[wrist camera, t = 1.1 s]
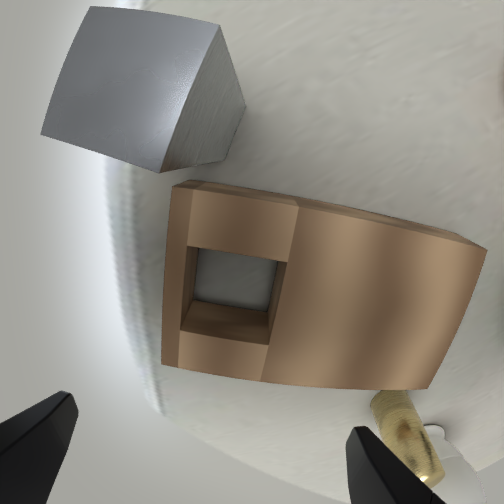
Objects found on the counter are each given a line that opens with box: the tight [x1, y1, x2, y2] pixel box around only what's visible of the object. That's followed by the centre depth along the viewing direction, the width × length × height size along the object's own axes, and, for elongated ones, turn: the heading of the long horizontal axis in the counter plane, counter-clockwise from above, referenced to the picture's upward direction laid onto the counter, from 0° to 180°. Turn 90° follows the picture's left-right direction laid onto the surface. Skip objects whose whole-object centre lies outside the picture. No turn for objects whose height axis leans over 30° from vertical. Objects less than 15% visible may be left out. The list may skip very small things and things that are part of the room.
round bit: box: [370, 390, 445, 489], centre depth 19 cm, size 4×4×10 cm
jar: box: [424, 425, 487, 504], centre depth 20 cm, size 11×10×15 cm
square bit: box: [41, 6, 246, 173], centre depth 12 cm, size 4×4×12 cm
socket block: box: [161, 180, 487, 390], centre depth 19 cm, size 19×11×4 cm, turn 81°
